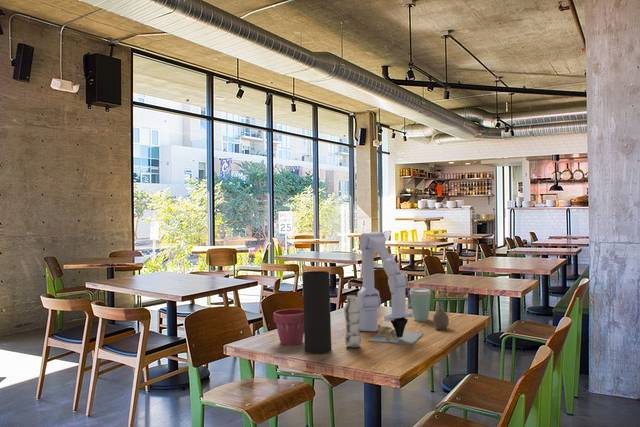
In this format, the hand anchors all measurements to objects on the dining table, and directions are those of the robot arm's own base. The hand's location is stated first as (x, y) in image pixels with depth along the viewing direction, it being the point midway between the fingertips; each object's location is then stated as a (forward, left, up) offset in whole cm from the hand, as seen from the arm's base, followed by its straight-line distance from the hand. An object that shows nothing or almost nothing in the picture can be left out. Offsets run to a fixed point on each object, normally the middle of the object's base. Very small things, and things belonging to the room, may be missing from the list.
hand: (399, 336), depth 219 cm
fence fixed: (-7, +6, -1) cm, 9 cm away
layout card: (-2, +4, -1) cm, 5 cm away
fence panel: (-4, 0, -1) cm, 4 cm away
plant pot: (-41, -16, -2) cm, 44 cm away
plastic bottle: (-14, -16, -2) cm, 22 cm away
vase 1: (-25, -25, -2) cm, 36 cm away
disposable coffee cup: (-1, +43, -2) cm, 43 cm away
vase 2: (+12, +26, -2) cm, 29 cm away
